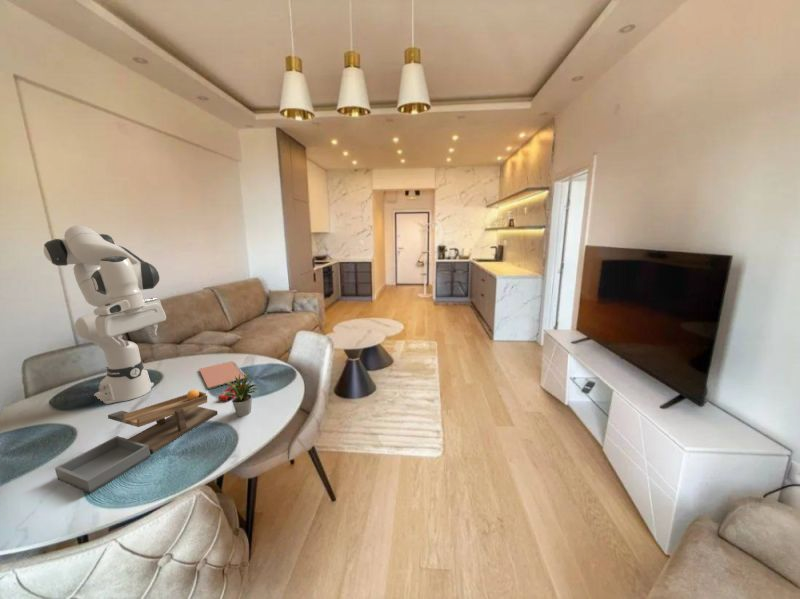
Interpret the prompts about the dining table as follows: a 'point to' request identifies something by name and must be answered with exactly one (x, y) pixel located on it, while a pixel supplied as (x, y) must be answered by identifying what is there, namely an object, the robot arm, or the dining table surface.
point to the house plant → (241, 395)
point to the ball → (192, 394)
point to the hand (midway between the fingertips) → (140, 341)
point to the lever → (157, 410)
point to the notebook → (221, 374)
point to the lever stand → (173, 427)
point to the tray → (102, 464)
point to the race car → (223, 399)
